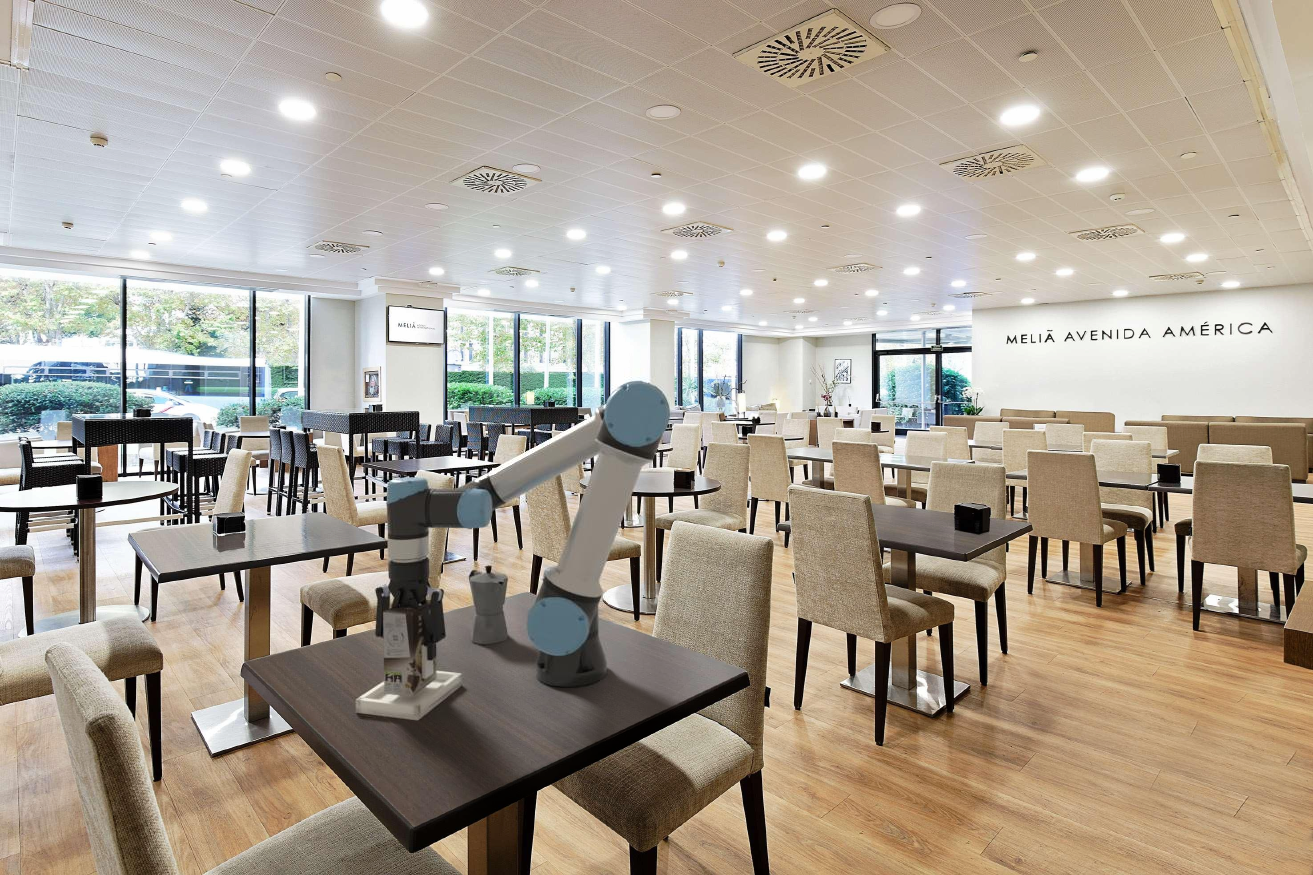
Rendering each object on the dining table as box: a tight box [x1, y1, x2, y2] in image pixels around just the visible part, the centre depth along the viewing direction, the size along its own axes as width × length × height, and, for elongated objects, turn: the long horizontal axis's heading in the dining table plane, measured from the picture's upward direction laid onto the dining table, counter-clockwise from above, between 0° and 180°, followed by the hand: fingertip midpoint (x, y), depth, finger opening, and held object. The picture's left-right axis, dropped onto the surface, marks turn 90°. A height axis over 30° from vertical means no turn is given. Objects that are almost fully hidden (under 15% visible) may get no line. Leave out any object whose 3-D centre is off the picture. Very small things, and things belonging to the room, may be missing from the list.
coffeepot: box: [468, 565, 509, 645], centre depth 173 cm, size 15×9×18 cm, turn 44°
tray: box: [355, 670, 463, 721], centre depth 138 cm, size 13×16×2 cm
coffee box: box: [383, 599, 437, 697], centre depth 138 cm, size 9×6×16 cm
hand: (411, 673), depth 138 cm, fingers closed on coffee box, 7 cm apart
